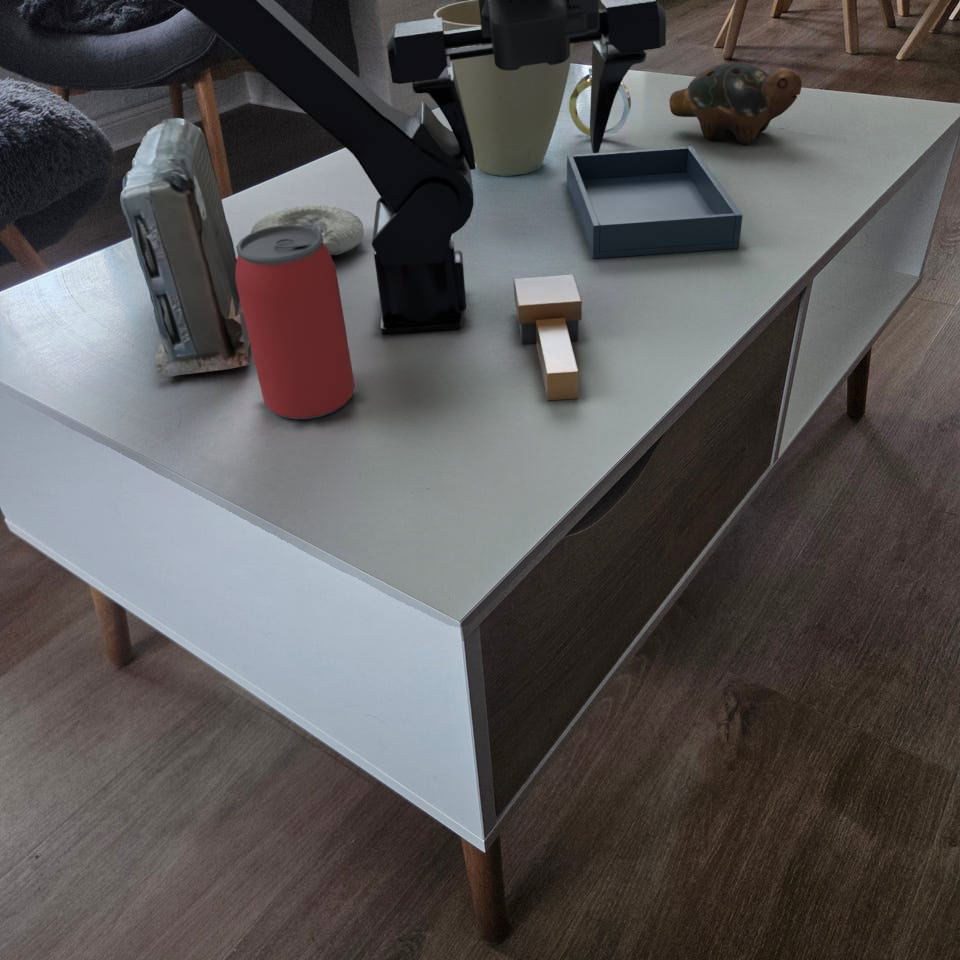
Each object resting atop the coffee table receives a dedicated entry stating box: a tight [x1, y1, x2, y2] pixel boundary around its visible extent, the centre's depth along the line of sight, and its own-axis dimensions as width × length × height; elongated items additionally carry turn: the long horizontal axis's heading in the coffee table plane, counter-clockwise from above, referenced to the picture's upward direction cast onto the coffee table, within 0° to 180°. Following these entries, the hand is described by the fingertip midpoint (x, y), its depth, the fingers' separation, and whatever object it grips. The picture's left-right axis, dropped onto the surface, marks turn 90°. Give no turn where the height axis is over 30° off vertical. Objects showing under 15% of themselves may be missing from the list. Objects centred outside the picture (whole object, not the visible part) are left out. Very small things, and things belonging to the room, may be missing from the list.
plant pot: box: [433, 0, 575, 177], centre depth 100 cm, size 15×15×16 cm
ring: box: [568, 67, 632, 139], centre depth 108 cm, size 7×3×8 cm, turn 69°
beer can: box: [235, 225, 356, 420], centre depth 63 cm, size 7×7×12 cm
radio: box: [119, 117, 252, 379], centre depth 74 cm, size 23×9×15 cm, turn 5°
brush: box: [513, 274, 583, 401], centre depth 69 cm, size 13×5×3 cm, turn 3°
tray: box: [566, 145, 744, 260], centre depth 90 cm, size 13×19×3 cm
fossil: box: [249, 204, 365, 256], centre depth 87 cm, size 11×4×10 cm
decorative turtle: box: [669, 62, 803, 146], centre depth 106 cm, size 10×15×8 cm, turn 62°
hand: (533, 159), depth 69 cm, fingers open, 9 cm apart
